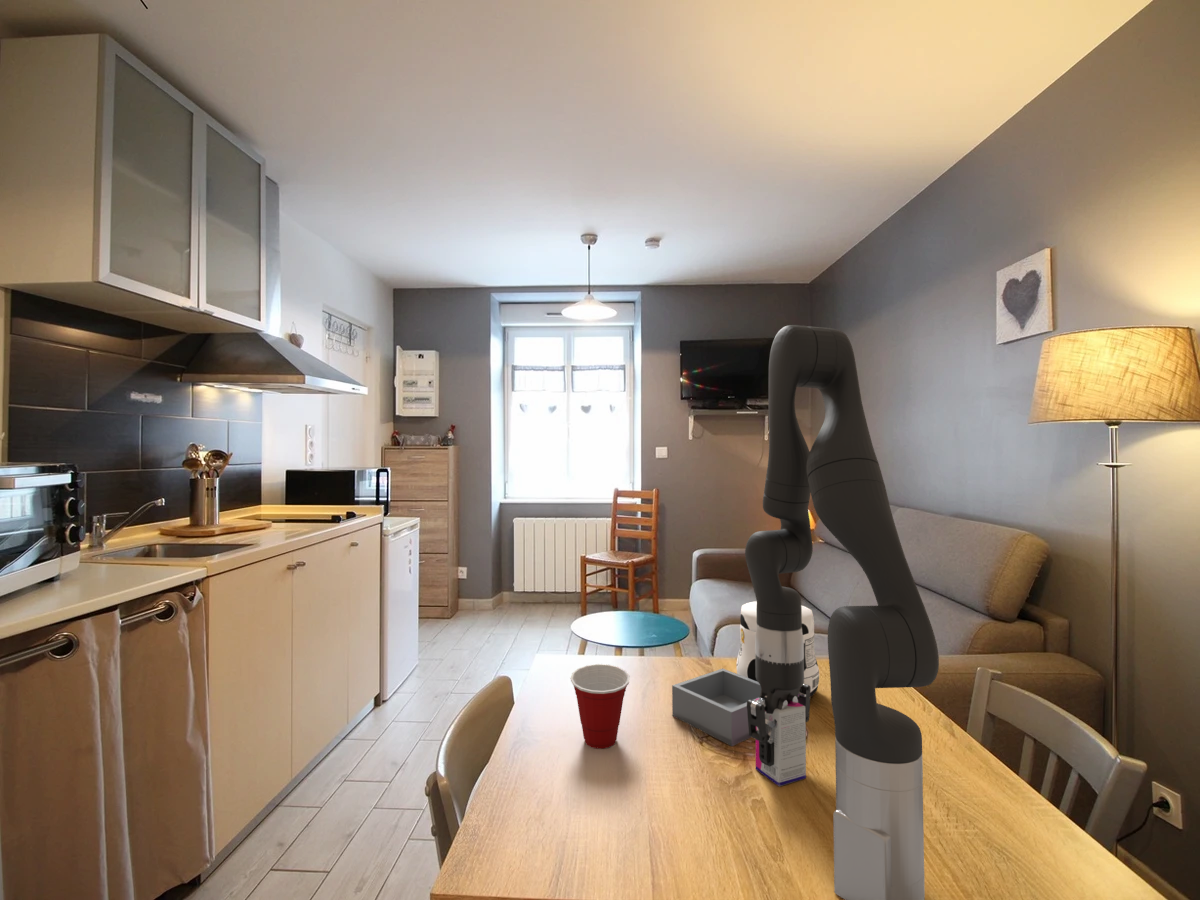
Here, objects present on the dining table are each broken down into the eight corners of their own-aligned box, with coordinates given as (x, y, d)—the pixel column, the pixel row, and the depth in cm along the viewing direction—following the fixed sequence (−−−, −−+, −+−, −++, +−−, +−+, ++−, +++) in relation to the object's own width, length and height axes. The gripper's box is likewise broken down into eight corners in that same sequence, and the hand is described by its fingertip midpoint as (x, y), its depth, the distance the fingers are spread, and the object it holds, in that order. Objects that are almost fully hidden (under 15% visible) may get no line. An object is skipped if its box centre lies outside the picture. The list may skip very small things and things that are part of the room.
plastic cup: (572, 759, 95) (571, 688, 95) (569, 728, 106) (569, 665, 106) (635, 755, 96) (634, 685, 96) (625, 726, 107) (625, 663, 107)
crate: (731, 746, 99) (731, 712, 99) (672, 715, 111) (672, 685, 111) (782, 722, 108) (782, 691, 108) (722, 696, 120) (722, 668, 120)
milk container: (729, 676, 131) (729, 599, 132) (804, 676, 131) (803, 599, 131) (746, 708, 114) (745, 620, 115) (832, 709, 113) (830, 620, 114)
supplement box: (807, 778, 89) (806, 705, 89) (778, 787, 86) (777, 713, 87) (782, 760, 94) (781, 692, 94) (754, 768, 92) (753, 698, 92)
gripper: (771, 669, 83) (772, 783, 83) (825, 650, 92) (826, 752, 92) (731, 656, 89) (732, 761, 89) (785, 638, 98) (786, 734, 98)
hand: (780, 756), depth 90 cm, fingers closed on supplement box, 6 cm apart
